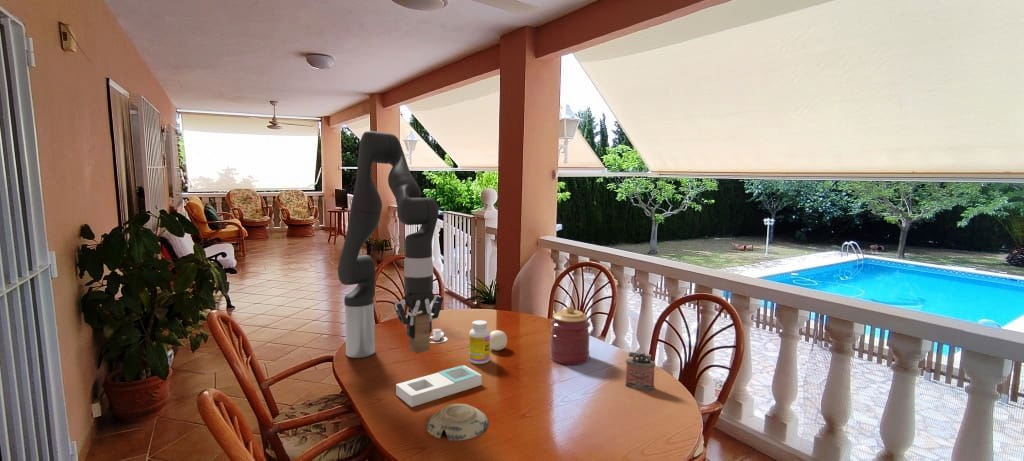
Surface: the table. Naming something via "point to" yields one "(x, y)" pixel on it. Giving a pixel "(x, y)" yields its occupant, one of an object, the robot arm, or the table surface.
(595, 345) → the table surface
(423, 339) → the walnut peg
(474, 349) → the supplement bottle
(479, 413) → the decorative bowl
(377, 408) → the table surface
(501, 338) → the baseball
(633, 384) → the lighter
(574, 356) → the canister
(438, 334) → the teacup and saucer
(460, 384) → the socket rail
